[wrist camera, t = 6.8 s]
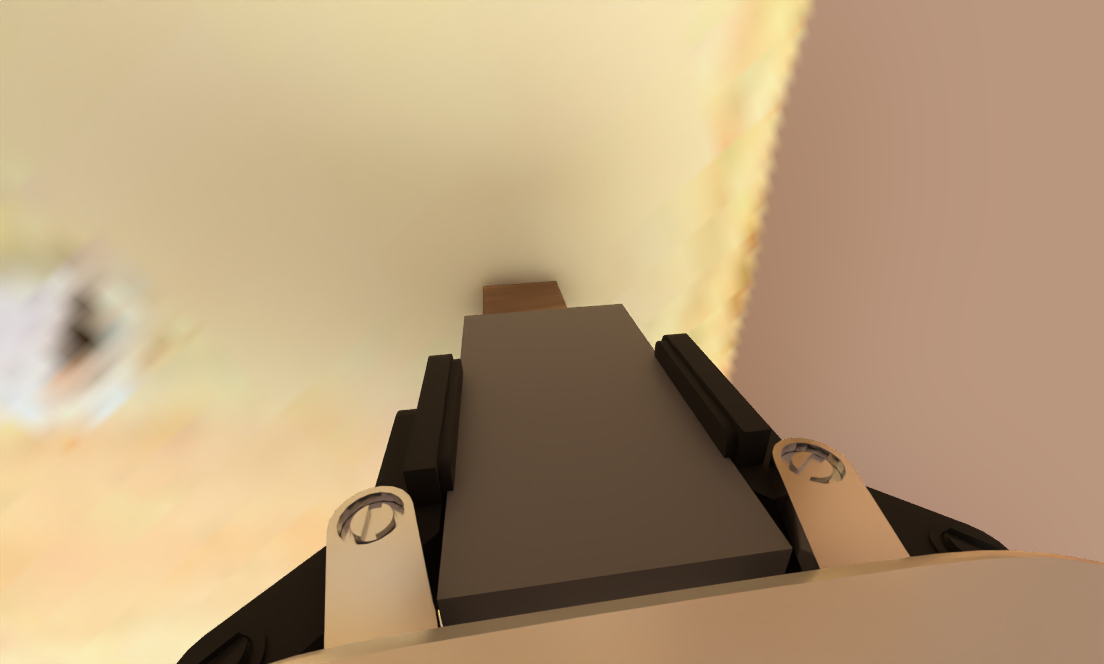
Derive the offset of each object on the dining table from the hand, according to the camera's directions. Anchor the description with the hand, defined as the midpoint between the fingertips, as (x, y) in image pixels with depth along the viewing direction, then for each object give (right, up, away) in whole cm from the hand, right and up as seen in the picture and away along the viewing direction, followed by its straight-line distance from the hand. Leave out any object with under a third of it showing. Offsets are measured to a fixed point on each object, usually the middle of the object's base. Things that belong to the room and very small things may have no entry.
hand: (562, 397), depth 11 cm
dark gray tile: (0, +1, +3) cm, 4 cm away
